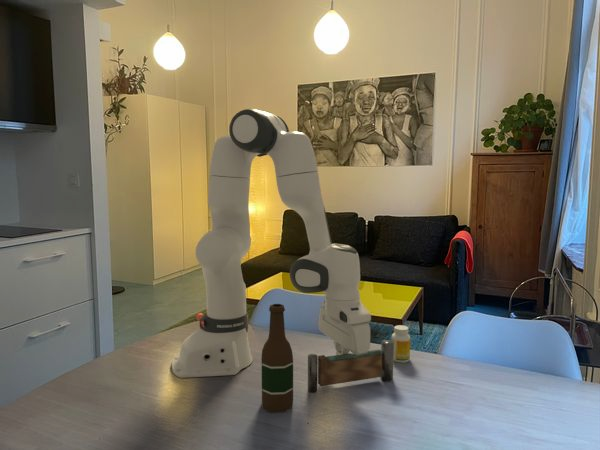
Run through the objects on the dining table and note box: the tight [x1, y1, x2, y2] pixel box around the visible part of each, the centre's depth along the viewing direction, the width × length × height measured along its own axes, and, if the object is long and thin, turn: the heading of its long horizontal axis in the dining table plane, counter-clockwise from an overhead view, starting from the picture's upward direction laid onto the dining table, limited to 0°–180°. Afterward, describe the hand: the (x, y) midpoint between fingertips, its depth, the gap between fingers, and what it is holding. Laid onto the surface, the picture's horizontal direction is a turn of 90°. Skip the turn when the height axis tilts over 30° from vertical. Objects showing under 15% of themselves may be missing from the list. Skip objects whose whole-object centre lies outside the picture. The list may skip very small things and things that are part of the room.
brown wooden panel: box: [317, 348, 382, 387], centre depth 117 cm, size 17×2×7 cm, turn 108°
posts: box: [307, 339, 394, 394], centre depth 117 cm, size 24×3×10 cm, turn 108°
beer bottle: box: [261, 303, 294, 414], centre depth 106 cm, size 8×8×24 cm
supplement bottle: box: [390, 324, 411, 364], centre depth 133 cm, size 5×5×10 cm
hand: (342, 358), depth 119 cm, fingers closed
